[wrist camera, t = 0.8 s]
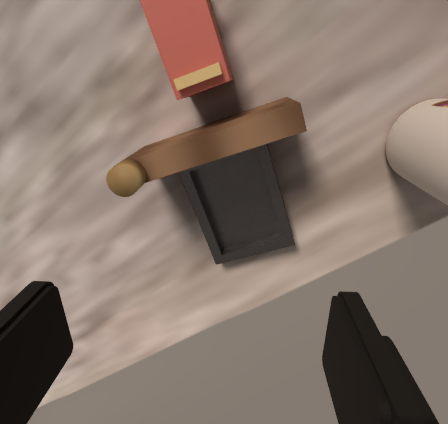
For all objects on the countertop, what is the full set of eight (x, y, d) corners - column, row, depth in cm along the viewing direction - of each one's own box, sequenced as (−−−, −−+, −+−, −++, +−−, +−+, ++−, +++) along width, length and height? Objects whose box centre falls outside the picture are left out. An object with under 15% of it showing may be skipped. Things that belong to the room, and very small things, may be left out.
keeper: (263, 132, 30) (264, 136, 28) (292, 235, 34) (295, 244, 33) (179, 160, 32) (175, 165, 30) (217, 255, 36) (216, 264, 34)
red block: (204, -18, 26) (190, -48, 20) (233, 80, 28) (229, 80, 22) (157, 3, 26) (130, -20, 20) (190, 96, 29) (175, 100, 23)
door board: (286, 94, 29) (304, 102, 19) (292, 120, 29) (312, 138, 20) (143, 144, 31) (100, 171, 22) (152, 166, 32) (115, 200, 23)
